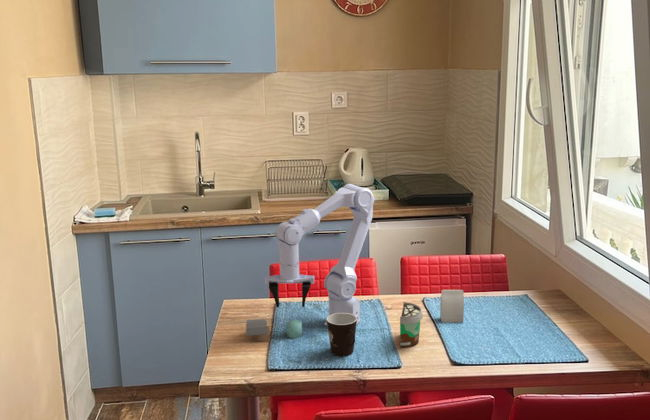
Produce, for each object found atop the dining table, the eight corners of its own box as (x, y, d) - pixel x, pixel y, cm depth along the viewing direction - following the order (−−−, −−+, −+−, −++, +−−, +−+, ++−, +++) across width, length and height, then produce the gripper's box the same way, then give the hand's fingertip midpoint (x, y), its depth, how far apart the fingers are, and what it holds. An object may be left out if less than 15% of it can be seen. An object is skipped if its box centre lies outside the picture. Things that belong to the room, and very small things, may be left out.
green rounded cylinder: (304, 333, 197) (304, 321, 197) (298, 339, 193) (297, 327, 192) (291, 331, 199) (290, 319, 198) (284, 337, 195) (283, 324, 194)
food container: (421, 351, 184) (421, 318, 181) (399, 349, 185) (399, 317, 183) (423, 333, 195) (424, 302, 193) (403, 332, 197) (403, 301, 194)
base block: (270, 333, 199) (269, 325, 199) (269, 342, 192) (269, 335, 192) (247, 334, 199) (247, 326, 198) (246, 344, 192) (245, 336, 191)
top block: (266, 326, 198) (266, 318, 197) (266, 334, 192) (266, 327, 192) (247, 327, 198) (246, 319, 197) (246, 335, 192) (245, 328, 191)
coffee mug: (327, 344, 189) (326, 312, 187) (357, 344, 189) (356, 312, 187) (326, 363, 178) (325, 329, 176) (357, 363, 178) (357, 329, 175)
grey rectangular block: (463, 322, 203) (464, 292, 201) (441, 322, 203) (442, 292, 201) (461, 317, 207) (462, 288, 204) (440, 317, 207) (440, 288, 205)
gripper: (263, 267, 187) (265, 311, 190) (313, 266, 187) (314, 310, 190) (265, 259, 194) (267, 302, 197) (314, 259, 194) (315, 301, 197)
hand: (290, 306), depth 194 cm, fingers open, 7 cm apart
